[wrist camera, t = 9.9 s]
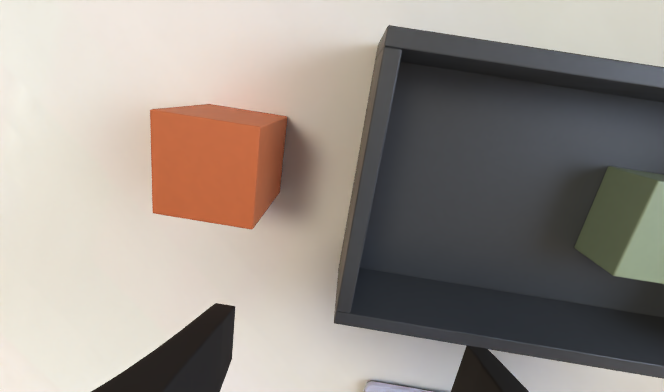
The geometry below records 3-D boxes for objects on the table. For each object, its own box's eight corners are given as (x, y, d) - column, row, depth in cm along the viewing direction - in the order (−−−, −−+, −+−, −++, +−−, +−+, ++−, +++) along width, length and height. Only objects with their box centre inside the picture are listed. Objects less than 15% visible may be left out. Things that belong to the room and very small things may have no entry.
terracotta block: (279, 192, 19) (252, 230, 14) (205, 180, 19) (152, 213, 14) (287, 116, 18) (261, 126, 13) (208, 103, 18) (149, 108, 13)
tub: (666, 323, 20) (762, 395, 15) (338, 269, 20) (333, 323, 16) (788, 107, 16) (969, 113, 11) (378, 43, 16) (388, 24, 12)
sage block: (658, 261, 18) (713, 292, 16) (573, 248, 19) (612, 276, 16) (700, 180, 17) (770, 198, 14) (607, 165, 17) (658, 180, 14)
